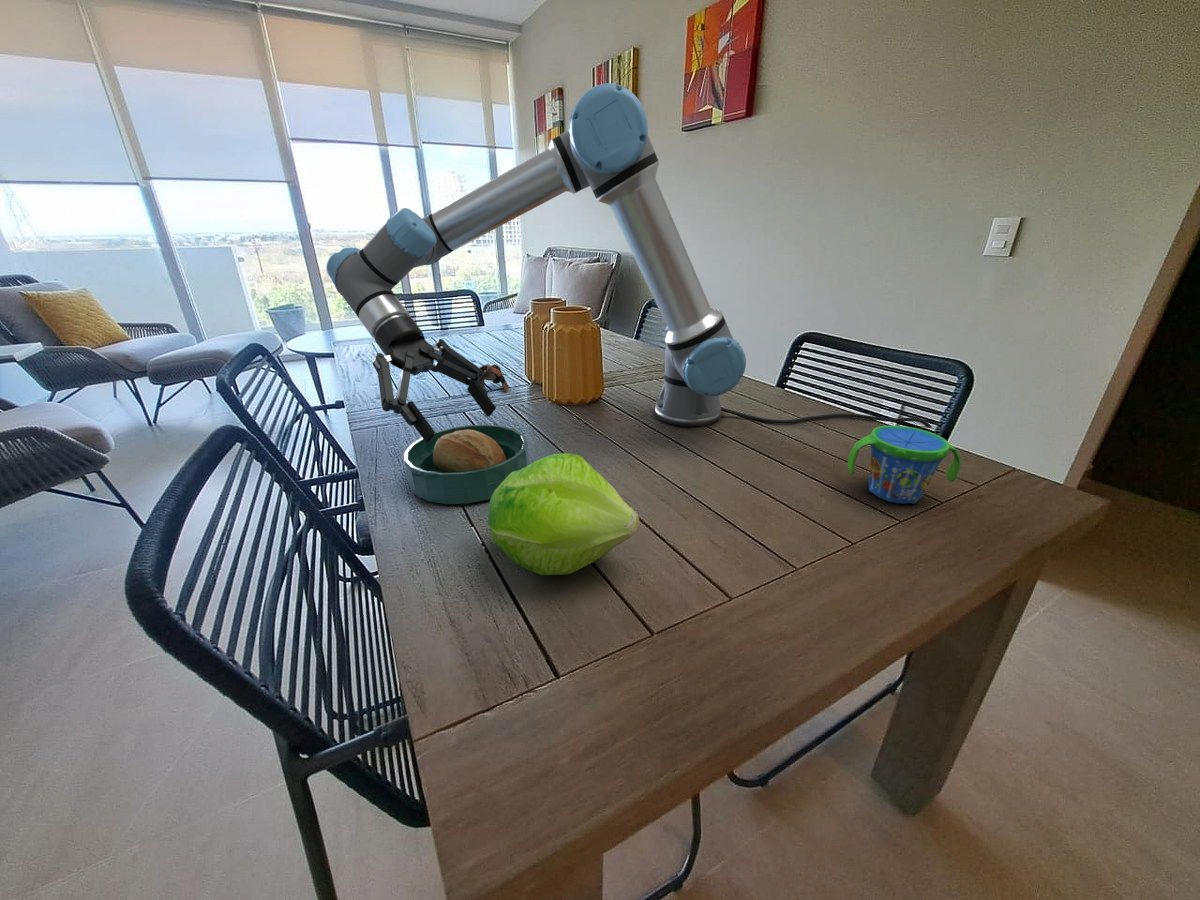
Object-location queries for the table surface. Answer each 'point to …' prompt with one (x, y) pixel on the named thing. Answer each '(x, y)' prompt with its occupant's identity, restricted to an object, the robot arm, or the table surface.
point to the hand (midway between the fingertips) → (463, 424)
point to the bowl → (465, 484)
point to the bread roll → (466, 452)
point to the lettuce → (558, 515)
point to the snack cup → (904, 462)
